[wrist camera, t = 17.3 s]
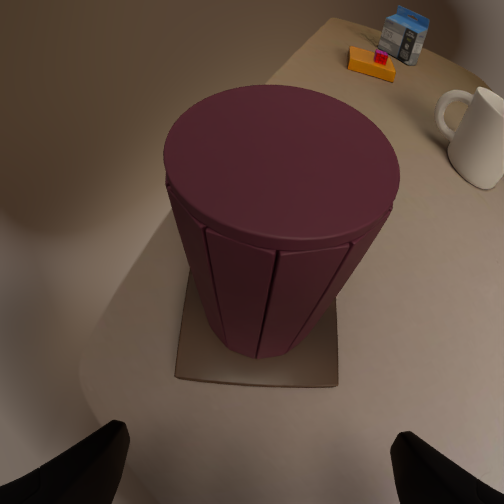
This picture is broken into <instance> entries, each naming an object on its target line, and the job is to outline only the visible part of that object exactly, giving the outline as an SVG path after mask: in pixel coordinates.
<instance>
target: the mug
mask: <svg viewBox="0 0 504 504" xmlns="http://www.w3.org/2000/svg"><path fill="white" fill-rule="evenodd" d="M453 101H461V102H463V103H465V104H467V105H468V108H467V110H466V112H465V114H464V116H463V118H462V120H461V122H460V124H459V126H458V128H457V130H456V132H454V131H453V130H451V129H450V128H449V127H448V126H447V125H446V123H445V121H444V112H445V109H446V107H447V106H448V105H449V104H450V103H451V102H453ZM434 118H435V123H436V126H437V128H438V129H439V131H440V132H441V134H442V135H443V136H444V137H445V138H447V139H448V140H449V141H450V143H449V146H448V157H449V160H450V162H451V164H452V165H453V167H454V168H455V169H456V171H457V172H458V173H459V174H460V175H461V176H462V177H463V178H464V179H465V180H467V181H468V182H469V183H471V184H472V185H474V186H476V187H478V188H481V189H491V188H493V187H494V186H495V185H496V184H497V183H498V181H499V180H500V179H501V177H502V176H503V175H504V99H502V98H501V97H500V96H498V95H497V94H495V93H493V92H492V91H490V90H488V89H486V88H483V87H478V88H477V89H476V91H475V93H474V95H472V94H470V93H468V92H466V91H462V90H451V91H448V92H446V93H445V94H443V95H442V96H441V97H440V98H439V100H438V102H437V103H436V106H435V111H434Z"/></svg>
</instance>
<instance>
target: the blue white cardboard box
mask: <svg viewBox="0 0 504 504" xmlns="http://www.w3.org/2000/svg"><path fill="white" fill-rule="evenodd" d="M407 15H413V16H414V17H415V18H417V19H418V21H416V20H414V19H412V18H410V17H408V16H407ZM428 25H429V19H427V18H425V17H423V16H421V15H419V14H417V13H415V12H412V11H410V10H408V9H406V8H403V7H401V6H398V9H397V14H395V15H392V16H390V17H387V18H386V20H385V24H384V27H383V31H382V35H381V38H380V42H379V45H378V48H379V49H381V50H383V51H385V52H387V53H389V54H390V55H392V56H394V57H396V58H397V59H399V60H401V61H402V62H404V63H406V64H407V65H416V63H417V60H418V57H419V54H420V51H421V48H422V45H423V42H424V39H425V36H426V33H427V30H428Z"/></svg>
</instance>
